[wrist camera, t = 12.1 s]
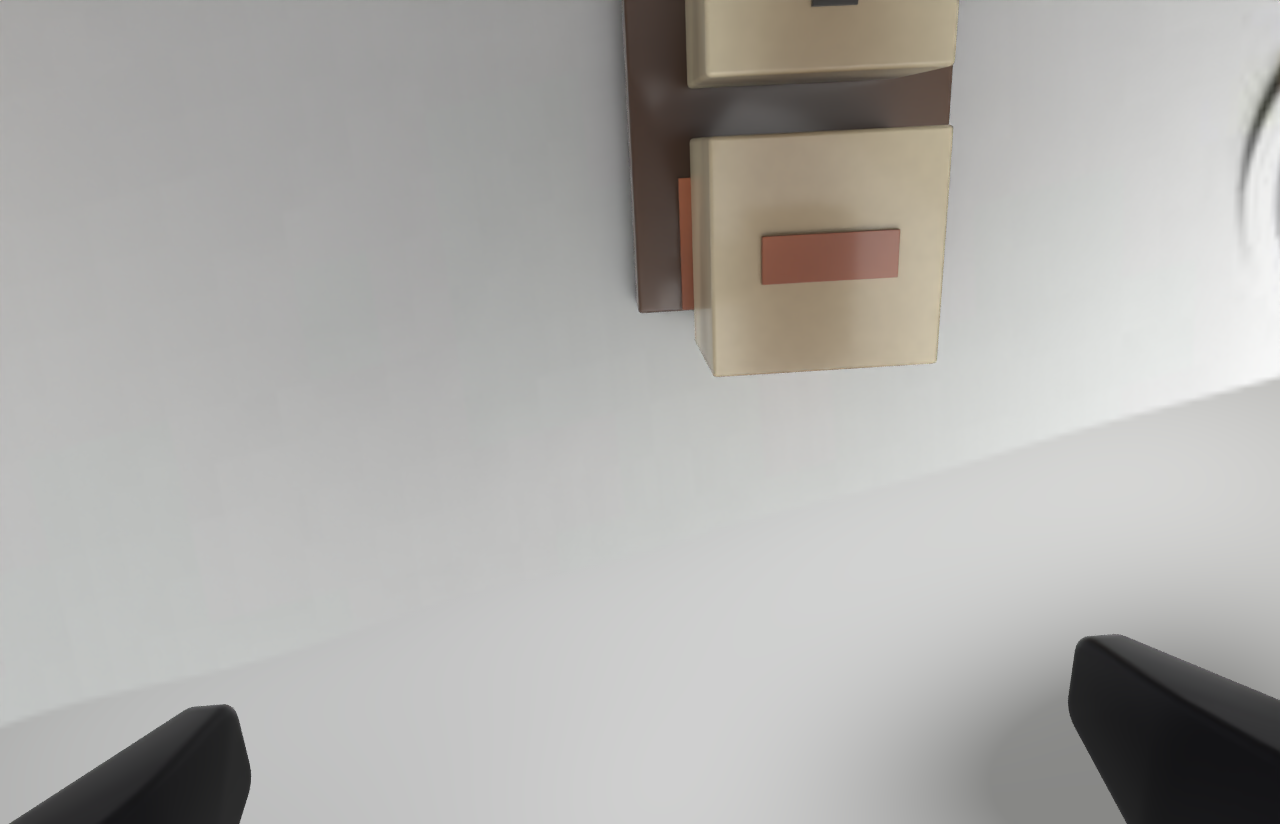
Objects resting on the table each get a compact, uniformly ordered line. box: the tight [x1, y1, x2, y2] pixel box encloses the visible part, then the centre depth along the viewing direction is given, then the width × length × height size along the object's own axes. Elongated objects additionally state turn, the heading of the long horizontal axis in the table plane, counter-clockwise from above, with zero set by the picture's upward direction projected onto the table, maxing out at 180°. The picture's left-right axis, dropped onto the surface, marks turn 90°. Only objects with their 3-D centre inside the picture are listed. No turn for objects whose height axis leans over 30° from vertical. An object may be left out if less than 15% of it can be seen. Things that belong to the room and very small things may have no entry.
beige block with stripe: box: [690, 125, 953, 377], centre depth 17 cm, size 4×4×3 cm
